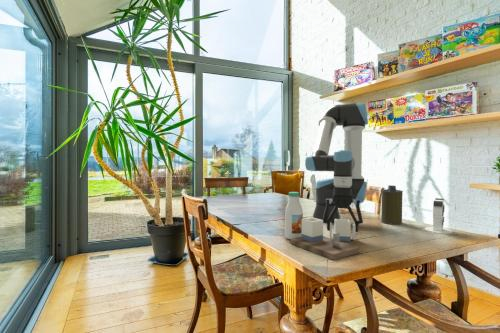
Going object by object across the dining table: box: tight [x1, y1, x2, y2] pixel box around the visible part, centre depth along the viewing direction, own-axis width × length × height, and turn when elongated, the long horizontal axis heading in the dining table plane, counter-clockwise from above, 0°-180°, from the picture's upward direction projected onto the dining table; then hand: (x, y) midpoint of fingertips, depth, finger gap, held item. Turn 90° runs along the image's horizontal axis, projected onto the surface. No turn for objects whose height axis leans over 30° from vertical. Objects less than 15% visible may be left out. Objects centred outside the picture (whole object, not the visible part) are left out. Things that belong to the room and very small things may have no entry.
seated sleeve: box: [302, 217, 324, 242], centre depth 115 cm, size 6×6×8 cm
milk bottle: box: [284, 191, 304, 240], centre depth 124 cm, size 8×8×20 cm
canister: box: [380, 185, 404, 226], centre depth 153 cm, size 11×10×20 cm
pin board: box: [290, 232, 361, 261], centre depth 110 cm, size 22×14×7 cm, turn 33°
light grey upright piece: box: [423, 197, 453, 235], centre depth 136 cm, size 12×11×15 cm
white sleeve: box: [333, 218, 352, 242], centre depth 122 cm, size 6×6×8 cm
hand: (342, 238), depth 122 cm, fingers open, 9 cm apart
